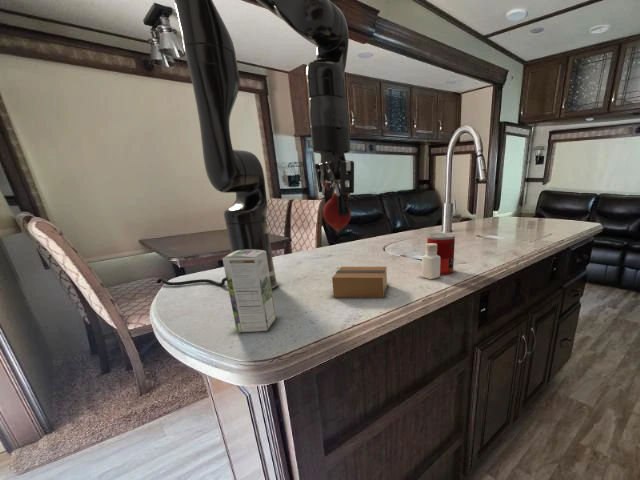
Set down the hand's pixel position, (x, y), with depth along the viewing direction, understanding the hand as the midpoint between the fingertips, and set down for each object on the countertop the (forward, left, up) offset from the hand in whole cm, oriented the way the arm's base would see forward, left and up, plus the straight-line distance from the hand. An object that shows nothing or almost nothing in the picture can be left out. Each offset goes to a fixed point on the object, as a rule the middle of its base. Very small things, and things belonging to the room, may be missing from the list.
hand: (337, 214), depth 68 cm
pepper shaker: (+21, +18, -20) cm, 34 cm away
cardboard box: (+3, +6, -20) cm, 21 cm away
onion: (0, 0, -4) cm, 4 cm away
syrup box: (-14, -15, -20) cm, 28 cm away
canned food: (+24, +24, -20) cm, 39 cm away
